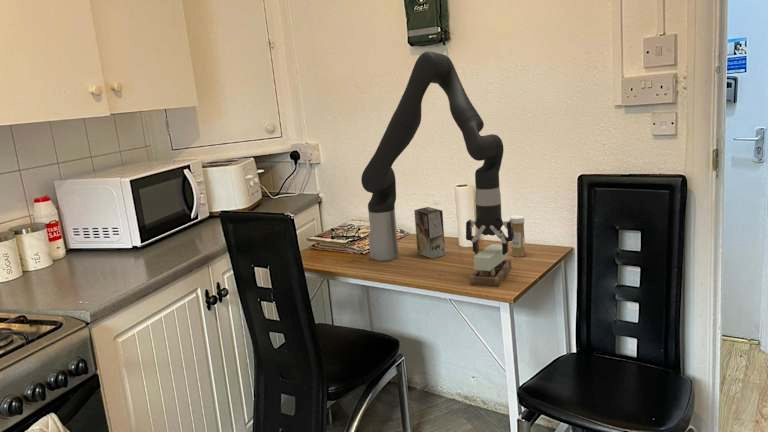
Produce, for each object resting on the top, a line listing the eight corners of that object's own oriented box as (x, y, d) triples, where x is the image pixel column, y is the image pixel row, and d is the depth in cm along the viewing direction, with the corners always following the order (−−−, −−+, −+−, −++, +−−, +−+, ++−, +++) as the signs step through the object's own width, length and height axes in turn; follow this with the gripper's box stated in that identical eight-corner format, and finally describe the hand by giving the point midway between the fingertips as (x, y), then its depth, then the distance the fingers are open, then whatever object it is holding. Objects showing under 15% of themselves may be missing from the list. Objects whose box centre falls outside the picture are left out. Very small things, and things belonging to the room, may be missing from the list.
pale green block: (492, 256, 197) (491, 244, 196) (507, 257, 195) (506, 245, 194) (474, 269, 186) (473, 256, 185) (489, 271, 183) (489, 258, 182)
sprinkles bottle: (528, 255, 208) (527, 216, 205) (518, 258, 206) (517, 218, 203) (518, 252, 212) (517, 214, 209) (508, 255, 210) (507, 216, 207)
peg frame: (498, 286, 181) (498, 273, 180) (470, 284, 185) (469, 272, 184) (511, 267, 197) (510, 255, 196) (484, 266, 201) (484, 254, 200)
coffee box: (446, 255, 216) (443, 210, 212) (431, 259, 213) (428, 213, 209) (431, 249, 224) (428, 206, 220) (416, 253, 221) (413, 209, 217)
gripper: (514, 199, 186) (516, 251, 190) (468, 199, 192) (471, 249, 196) (509, 205, 179) (511, 258, 183) (461, 204, 185) (464, 256, 189)
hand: (490, 253), depth 189 cm, fingers open, 8 cm apart
